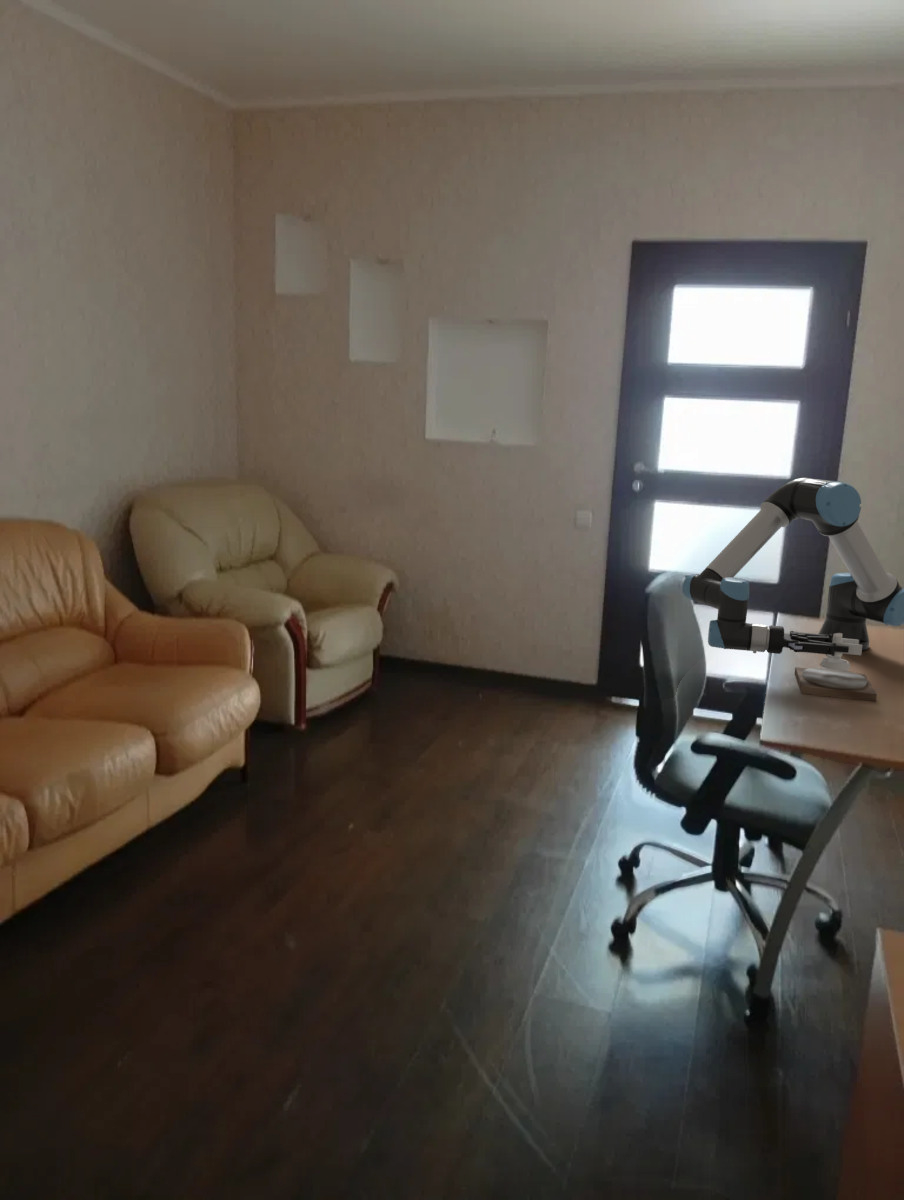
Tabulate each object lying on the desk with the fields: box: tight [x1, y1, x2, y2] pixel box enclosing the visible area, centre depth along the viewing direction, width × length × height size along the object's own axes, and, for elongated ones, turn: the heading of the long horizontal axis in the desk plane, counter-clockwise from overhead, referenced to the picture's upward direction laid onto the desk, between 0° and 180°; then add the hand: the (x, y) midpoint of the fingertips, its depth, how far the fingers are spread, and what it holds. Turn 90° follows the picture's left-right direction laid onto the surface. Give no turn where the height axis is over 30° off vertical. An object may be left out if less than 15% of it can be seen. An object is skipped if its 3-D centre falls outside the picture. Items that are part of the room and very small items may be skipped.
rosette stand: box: [794, 666, 878, 702], centre depth 242 cm, size 18×18×3 cm
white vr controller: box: [819, 633, 851, 671], centre depth 240 cm, size 8×12×7 cm
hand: (859, 647), depth 239 cm, fingers closed on white vr controller, 4 cm apart
